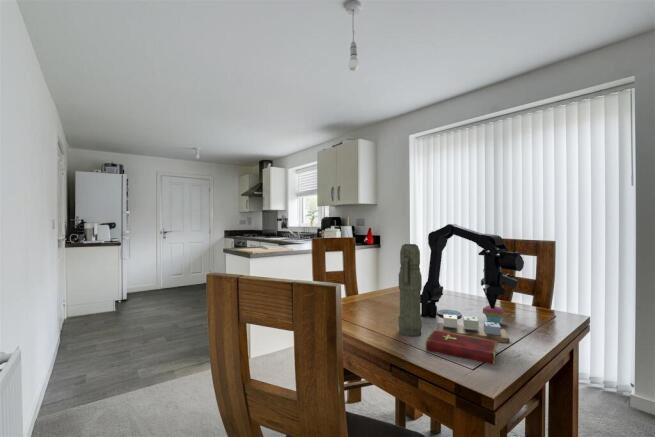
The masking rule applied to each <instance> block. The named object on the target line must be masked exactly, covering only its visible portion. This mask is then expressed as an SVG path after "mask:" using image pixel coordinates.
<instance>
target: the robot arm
mask: <svg viewBox="0 0 655 437" xmlns="http://www.w3.org/2000/svg"><path fill="white" fill-rule="evenodd" d="M427 236H428V237H427V242H428V243H427V244H428V246H429V249H430V255H429V264H428V274H427V275H428V276H427V277H428V278H427V280H426V282H425V284H424V286H423V287H422V288H423V289H422V291H421V292H422V293H420V314H421V318H432V319H436V318H437V316H438V305H436V303H439V302H440V299H441V298H442V296H443V295H444V294H443V290H444V286H443V285H441V284H440V277H441V266H442V265H441V264H442V256H443V251H444V250H445V248H446V246H447V244H448V240H450V239H451V238H452V237H453V236H456V237H458V238H462V239H465V240H468V241H470V242H473V243H475V244H476V245H477V247H479V248H480V249H481V248H482V249H481V251H480V252H479V253H477V254H478V256H483V269H482V270H483V271H482V272H483V278H482V279H480V286H482V287H483V286H484V287H483V288H482V290H483V293H484V295H485V297H486V301H487V302H488V306H489V305H490V307H491V309H494V308H495V306H496V303H497V300H498V297H500V296H506V295H507V290H506V289H505V287H504V285H505V286H507V287H509V288H511V289H514V290H517V286H518V284H519V281H518V279H515V278H514V277H513V275H512V274H510V273H506V274H503V272H502V270H507V271H515V272H522V270H523V269H524V265H525V261H524V258H523V257H522V255H521V252H520V251H510V250H509V249H508V247H507V246H506V245H505V243H504V240H503V238H502V236H500V235H497V234H491V233H482V232H479V231H475V230H473V229H470V228H466V227H463V226H461V225H458V224H456V223H448V224H447V225H445V226H443V227H440V228H438V229H436V230H433V231H431V232H429V234H428V235H427Z"/></svg>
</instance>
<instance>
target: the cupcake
mask: <svg viewBox="0 0 655 437" xmlns="http://www.w3.org/2000/svg"><path fill="white" fill-rule="evenodd" d="M482 314H484V315H485V318H486V320H487V321H486V322H492V323H499V324H500V323H501V320H502V319H503V317H504V316H505V310H504V309H502V308H501V307H500V306H496V305H495V308H494V309H491V307H490V305H489V304H488V305H486V306H485V307H483V308H482Z"/></svg>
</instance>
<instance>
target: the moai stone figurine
mask: <svg viewBox="0 0 655 437" xmlns="http://www.w3.org/2000/svg"><path fill="white" fill-rule="evenodd" d="M420 251H421V250H420V249H419V245H417V244H416V243H404V244H402V245H401V248H400V251H399V258H400V259H399V264H400V267H399V273H398V289H399V316H398V333H399V335H401V336H404V337H409V338H417V337H420V336H422V334H423V333H422V328H423V317H421V303H420V295H421V292H422V291H421V290H423V289H422V288H423V286H422V284H423V283H422V281H423V277H422V273H421V268H420V265H421V252H420Z"/></svg>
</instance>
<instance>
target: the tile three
mask: <svg viewBox="0 0 655 437" xmlns="http://www.w3.org/2000/svg"><path fill="white" fill-rule="evenodd" d="M483 327H484V330H485V333H486V334H494V335H501V328H502V327H501V325H500V323H492V322H488V321H484V322H483Z"/></svg>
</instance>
